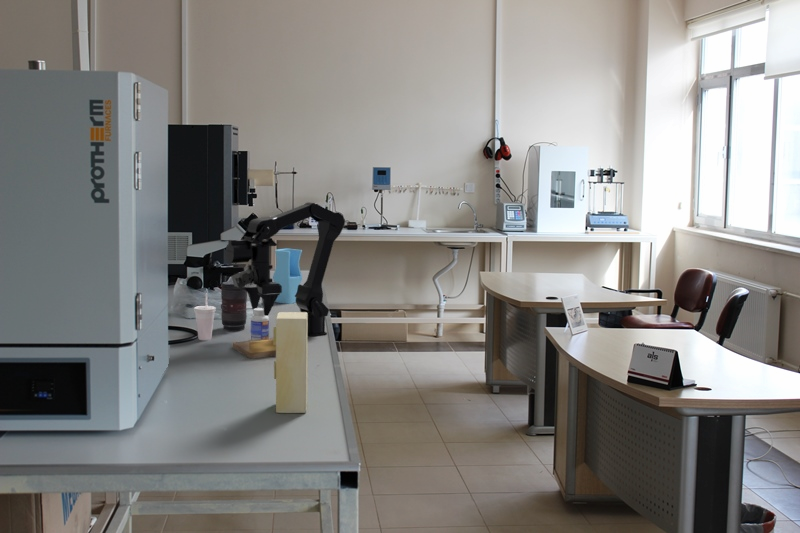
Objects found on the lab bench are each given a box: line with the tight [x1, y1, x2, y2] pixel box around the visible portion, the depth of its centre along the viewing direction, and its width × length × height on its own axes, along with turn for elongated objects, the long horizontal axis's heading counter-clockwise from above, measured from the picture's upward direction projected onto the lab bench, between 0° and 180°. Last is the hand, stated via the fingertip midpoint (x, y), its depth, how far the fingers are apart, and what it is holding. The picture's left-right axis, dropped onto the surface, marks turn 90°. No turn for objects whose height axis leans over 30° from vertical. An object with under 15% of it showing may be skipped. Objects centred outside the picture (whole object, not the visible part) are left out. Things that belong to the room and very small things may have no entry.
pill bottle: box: [250, 307, 270, 341], centre depth 240 cm, size 5×5×10 cm
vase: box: [272, 248, 303, 305], centre depth 306 cm, size 8×8×20 cm
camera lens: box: [220, 281, 248, 332], centre depth 255 cm, size 8×8×15 cm
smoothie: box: [193, 292, 217, 341], centre depth 240 cm, size 6×6×14 cm
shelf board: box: [232, 338, 276, 359], centre depth 228 cm, size 15×14×4 cm
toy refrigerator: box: [272, 311, 308, 414], centre depth 175 cm, size 8×7×21 cm
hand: (260, 312), depth 239 cm, fingers open, 9 cm apart
